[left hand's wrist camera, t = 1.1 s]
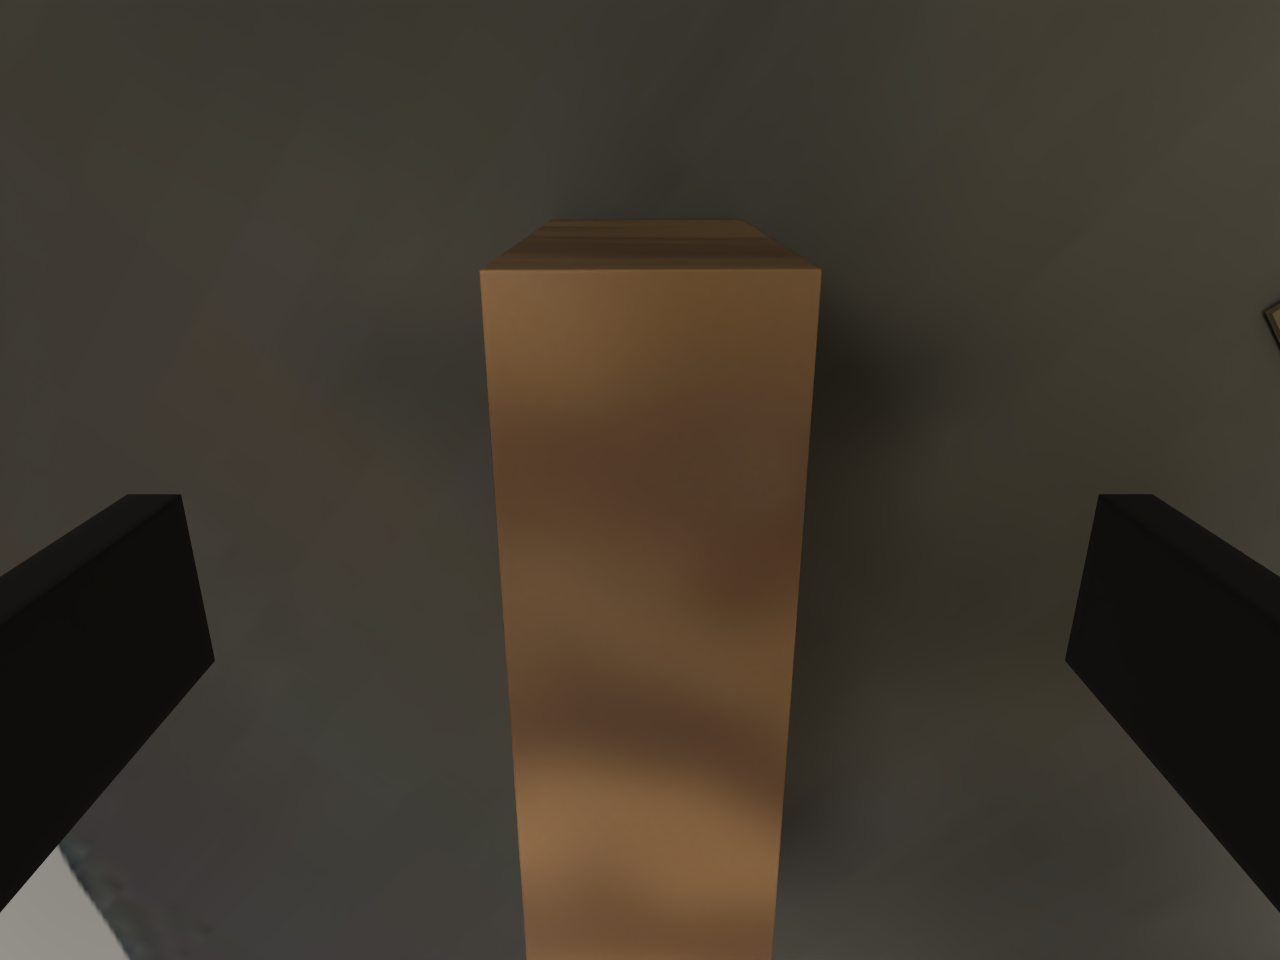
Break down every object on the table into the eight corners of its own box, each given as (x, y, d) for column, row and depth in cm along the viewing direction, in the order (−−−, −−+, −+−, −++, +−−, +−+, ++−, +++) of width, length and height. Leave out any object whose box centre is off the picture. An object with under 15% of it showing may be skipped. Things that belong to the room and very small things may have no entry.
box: (549, 219, 27) (478, 269, 15) (742, 219, 27) (822, 269, 15) (570, 755, 35) (534, 1070, 23) (722, 755, 35) (764, 1070, 23)
